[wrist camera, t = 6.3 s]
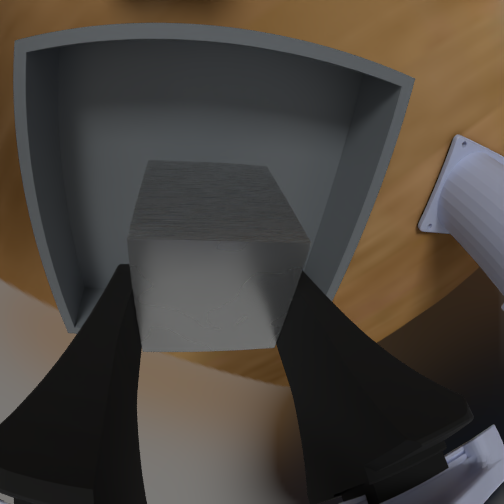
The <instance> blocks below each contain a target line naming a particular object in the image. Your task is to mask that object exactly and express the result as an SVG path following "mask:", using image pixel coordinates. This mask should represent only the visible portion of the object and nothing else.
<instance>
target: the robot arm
mask: <svg viewBox="0 0 504 504" xmlns="http://www.w3.org/2000/svg"><path fill="white" fill-rule="evenodd" d="M462 143H463V144H462ZM418 228H419V229H420V230H421V231H423V232H435V233H446V234H451V235H452V236H453V237H454V238H455V239H456V240H457V241H458V242H459V244H460V245H461V246H462V247H463V248H464V249H465V250H466V251H467V252H468V253H469V255H470V256H471V257H472V258H473V259H474V260H475V261H476V263H477V264H478V265H479V266H480V267H481V268H482V270H483V271H484V272H485V273H486V274H487V275H488V277H489V278H490V279H491V280H492V282H493V283H494V284H495V285H496V286H497V288H498V289H499V290H500V292H501V293H502V294H503V295H504V157H503V156H501V155H499V154H498V153H496V152H494V151H492V150H490V149H488V148H486V147H484V146H482V145H480V144H478V143H476V142H474V141H472V140H470V139H468V138H465V137H463V136H461V135H456V136H455V137H454V138H453V141H452V143H451V146H450V149H449V152H448V154H447V157H446V160H445V162H444V165H443V168H442V170H441V173H440V175H439V178H438V180H437V183H436V185H435V187H434V190H433V192H432V194H431V197H430V199H429V201H428V204H427V206H426V208H425V210H424V213H423V215H422V217H421V219H420V221H419V224H418ZM501 308H502V309H503V310H504V303H503V305H502V306H501ZM276 344H277V347H278V351H279V354H280V357H281V360H282V363H283V366H284V369H285V372H286V375H287V378H288V381H289V384H290V388H291V391H292V395H293V398H294V403H295V408H296V413H297V418H298V424H299V429H300V435H301V440H302V448H303V455H304V462H305V471H306V482H307V495H308V499H309V502H310V504H317V503H321V502H324V501H328V500H331V499H334V498H338V497H341V496H342V498H343V502H342V503H339V504H484V502H485V501H486V500H487V499H488V498H489V496H490V495H491V494H492V493H493V492H494V491H495V490H496V488H498V487H499V485H500V484H501V483H502V482H503V481H504V445H503V442H502V441H501V438H500V436H499V433H498V431H497V429H496V427H495V425H492V426H490V427H489V428H487V429H486V430H485V431H483V432H482V433H480V434H479V435H477V436H476V437H474V438H473V439H471V440H470V441H468V442H467V443H465V444H463V445H461V446H460V447H458V448H456V449H455V450H453V451H451V452H450V453H448V454H446V455H445V456H444V454H443V450H445V449H446V447H447V446H446V444H445V441H444V440H445V439H446V438H448V437H450V436H451V435H453V434H454V433H456V432H457V431H459V430H460V429H462V428H463V427H464V426H466V425H467V424H468V423H470V422H471V421H472V420H473V414H472V413H471V410H470V408H469V406H468V404H467V402H466V400H465V398H464V396H462V395H461V394H458V393H456V392H454V391H452V390H450V389H448V388H445V387H443V386H441V385H439V384H437V383H435V382H433V381H432V380H430V379H428V378H426V377H424V376H423V375H421V374H419V373H418V372H416V371H415V370H413V369H411V368H410V367H408V366H407V365H405V364H404V363H402V362H401V361H399V360H398V359H397V358H395V357H394V356H392V355H391V354H390V353H388V352H387V351H386V350H384V349H383V348H382V347H380V346H379V345H378V344H377V343H376V342H374V341H373V340H372V339H371V338H370V337H368V336H367V335H366V334H365V333H364V332H363V331H361V330H360V329H359V328H358V327H357V326H356V325H355V324H354V323H353V322H352V321H351V320H350V319H349V318H348V317H347V316H346V315H345V314H344V313H343V312H341V310H340V309H339V308H338V307H337V306H336V305H335V304H334V303H333V302H332V301H331V300H330V299H329V298H328V297H327V296H326V295H325V294H324V293H323V292H322V291H321V290H320V289H319V287H318V286H317V285H316V284H315V283H314V282H313V281H312V280H311V279H310V278H309V277H308V276H307V275H306V273H305V272H304V271H303V270H302V273H301V276H300V278H299V281H298V284H297V287H296V290H295V293H294V296H293V298H292V301H291V304H290V307H289V310H288V312H287V315H286V318H285V321H284V323H283V326H282V329H281V331H280V334H279V337H278V339H277V342H276ZM141 349H142V344H141V339H140V333H139V328H138V322H137V316H136V309H135V303H134V296H133V289H132V281H131V273H130V264H120V265H118V266H117V268H116V270H115V272H114V274H113V276H112V278H111V279H110V281H109V283H108V285H107V287H106V288H105V290H104V292H103V293H102V295H101V297H100V299H99V300H98V302H97V303H96V305H95V307H94V308H93V310H92V312H91V313H90V315H89V317H88V318H87V320H86V321H85V323H84V324H83V326H82V327H81V329H80V330H79V332H78V333H77V335H76V336H75V338H74V339H73V341H72V342H71V343H70V345H69V346H68V348H67V349H66V350H65V352H64V353H63V354H62V356H61V357H60V358H59V360H58V361H57V362H56V364H55V365H54V366H53V367H52V369H51V370H50V371H49V373H48V374H47V375H46V376H45V377H44V379H43V380H42V381H41V382H40V383H39V384H38V386H37V387H36V388H35V389H34V390H33V391H32V392H31V393H30V394H29V395H28V397H27V398H26V399H25V400H24V401H23V402H22V403H21V404H20V405H19V406H18V407H17V409H16V410H15V411H14V412H13V413H12V414H11V415H10V416H8V417H7V418H6V419H5V420H4V421H3V422H2V423H1V424H0V493H2V494H5V495H8V496H10V497H13V498H14V504H147V501H146V496H145V490H144V483H143V477H142V469H141V460H140V450H139V438H138V423H137V390H138V378H139V368H140V358H141ZM0 504H9V503H6V502H4V501H3V500H1V499H0Z"/></svg>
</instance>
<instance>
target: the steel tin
mask: <svg viewBox="0 0 504 504" xmlns="http://www.w3.org/2000/svg"><path fill="white" fill-rule="evenodd" d="M127 244H128V255H129V264H130V273H131V281H132V289H133V296H134V303H135V309H136V316H137V322H138V328H139V333H140V339H141V344H142V349H143V352H144V351H145V352H199V351H228V350H248V349H263V348H274V347H275V345H276V342H277V339H278V337H279V334H280V331H281V329H282V326H283V323H284V321H285V318H286V315H287V312H288V310H289V307H290V304H291V301H292V298H293V296H294V293H295V290H296V287H297V284H298V281H299V278H300V276H301V273H302V270H303V267H304V264H305V261H306V258H307V255H308V252H309V249H310V246H311V242H310V240H309V238H308V236H307V234H306V233H305V231H304V229H303V227H302V226H301V224H300V222H299V220H298V218H297V217H296V215H295V213H294V211H293V210H292V208H291V206H290V205H289V203H288V201H287V199H286V198H285V196H284V194H283V193H282V191H281V189H280V187H279V186H278V184H277V182H276V181H275V179H274V177H273V176H272V174H271V172H270V171H269V169H268V167H267V166H255V165H243V164H229V163H212V162H192V161H159V160H148V163H147V167H146V170H145V173H144V177H143V180H142V184H141V187H140V191H139V194H138V198H137V202H136V205H135V209H134V213H133V217H132V221H131V225H130V229H129V233H128V238H127Z"/></svg>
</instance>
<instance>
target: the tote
mask: <svg viewBox="0 0 504 504" xmlns="http://www.w3.org/2000/svg"><path fill="white" fill-rule="evenodd" d="M414 81H415V78H412V77H410V76H408V75H406V74H403V73H401V72H398V71H396V70H394V69H391V68H389V67H386V66H383V65H381V64H378V63H375V62H373V61H370V60H367V59H364V58H361V57H358V56H355V55H352V54H349V53H346V52H343V51H340V50H336V49H333V48H329V47H326V46H322V45H319V44H315V43H311V42H307V41H303V40H299V39H294V38H290V37H285V36H280V35H275V34H270V33H264V32H258V31H252V30H246V29H238V28H231V27H222V26H212V25H200V24H182V23H129V24H112V25H100V26H91V27H82V28H75V29H68V30H62V31H56V32H51V33H46V34H41V35H36V36H32V37H27V38H23V39H19V40H15V46H14V71H13V89H14V114H15V128H16V138H17V147H18V155H19V163H20V169H21V175H22V181H23V187H24V192H25V197H26V202H27V207H28V211H29V216H30V220H31V224H32V228H33V232H34V236H35V240H36V243H37V247H38V250H39V254H40V257H41V260H42V264H43V267H44V270H45V273H46V276H47V279H48V282H49V285H50V288H51V290H52V293H53V296H54V299H55V301H56V304H57V306H58V309H59V312H60V314H61V317H62V319H63V321H64V324H65V326H66V328H67V331H68V333H76V334H77V333H78V332H79V330H80V329H81V327H82V326H83V324H84V323H85V321H86V320H87V318H88V317H89V315H90V313H91V312H92V310H93V308H94V307H95V305H96V303H97V302H98V300H99V299H100V297H101V295H102V293H103V292H104V290H105V288H106V287H107V285H108V283H109V281H110V279H111V278H112V276H113V274H114V272H115V270H116V268H117V266H118V265H120V264H129V255H128V244H127V238H128V233H129V229H130V225H131V221H132V217H133V213H134V209H135V205H136V202H137V198H138V194H139V191H140V187H141V184H142V180H143V177H144V173H145V170H146V167H147V163H148V160H159V161H192V162H212V163H229V164H243V165H255V166H267V167H268V169H269V171H270V172H271V174H272V176H273V177H274V179H275V181H276V182H277V184H278V186H279V187H280V189H281V191H282V193H283V194H284V196H285V198H286V199H287V201H288V203H289V205H290V206H291V208H292V210H293V211H294V213H295V215H296V217H297V218H298V220H299V222H300V224H301V226H302V227H303V229H304V231H305V233H306V234H307V236H308V238H309V240H310V242H311V246H310V249H309V252H308V255H307V258H306V261H305V264H304V267H303V271H304V272H305V273H306V275H307V276H308V277H309V278H310V279H311V280H312V281H313V282H314V283H315V284H316V285H317V286H318V287H319V289H320V290H321V291H322V292H323V293H324V294H325V295H326V296H327V297H328V298H329V299H330V300H331V301H332V300H333V298H334V296H335V294H336V292H337V290H338V288H339V285H340V283H341V281H342V279H343V277H344V274H345V272H346V270H347V268H348V266H349V263H350V261H351V259H352V256H353V254H354V252H355V249H356V247H357V245H358V242H359V240H360V238H361V235H362V233H363V230H364V228H365V226H366V223H367V221H368V218H369V216H370V213H371V211H372V208H373V205H374V203H375V200H376V198H377V195H378V192H379V190H380V187H381V184H382V182H383V179H384V176H385V173H386V171H387V168H388V165H389V162H390V159H391V156H392V153H393V150H394V147H395V144H396V141H397V138H398V135H399V132H400V129H401V126H402V122H403V119H404V116H405V113H406V109H407V106H408V102H409V99H410V95H411V92H412V88H413V85H414Z"/></svg>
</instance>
